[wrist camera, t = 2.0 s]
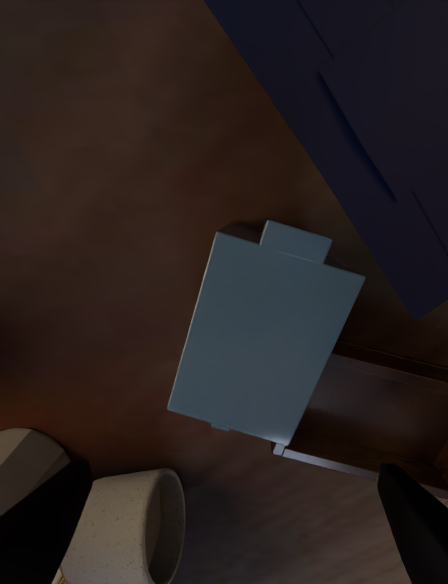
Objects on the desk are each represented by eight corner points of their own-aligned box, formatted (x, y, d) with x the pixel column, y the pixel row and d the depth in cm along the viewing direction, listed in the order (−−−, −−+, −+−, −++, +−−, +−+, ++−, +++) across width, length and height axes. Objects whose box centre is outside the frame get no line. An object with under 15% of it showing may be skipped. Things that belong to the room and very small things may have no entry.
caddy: (488, 377, 21) (527, 403, 18) (433, 467, 24) (459, 502, 21) (302, 329, 21) (311, 348, 18) (268, 424, 24) (271, 453, 21)
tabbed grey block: (312, 232, 19) (378, 252, 10) (261, 364, 22) (273, 480, 13) (234, 208, 19) (223, 205, 10) (195, 344, 22) (156, 445, 13)
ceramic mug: (87, 461, 26) (27, 559, 19) (167, 447, 25) (135, 545, 18) (129, 537, 29) (91, 648, 22) (202, 528, 28) (187, 642, 21)
